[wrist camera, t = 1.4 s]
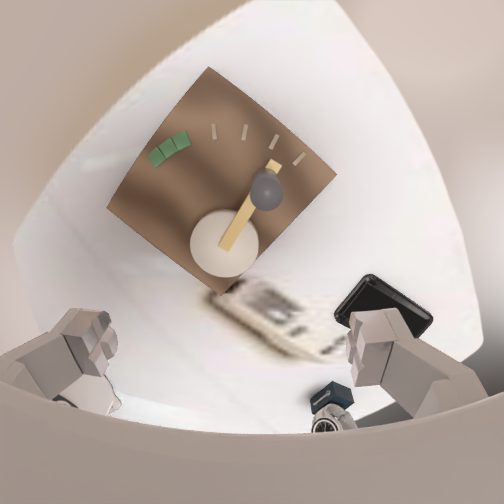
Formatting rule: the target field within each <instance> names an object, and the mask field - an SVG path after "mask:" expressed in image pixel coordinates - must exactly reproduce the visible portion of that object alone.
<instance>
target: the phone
mask: <svg viewBox="0 0 504 504" xmlns="http://www.w3.org/2000/svg"><path fill="white" fill-rule="evenodd" d="M389 308H397V309H398V310H399V312H400V314H401V316H402V317H403V319H404V321H405V323H406V325H407V326H408V328H409V330H410V332H411V334H412V335H413V337H414V339H416V338H419V337H420V336H421V335H422V334H423V333H424V331H425V330H426V329H427V328H428V327H429V326H430V325H431V324H432V322H433V316H432V315H431V314H430V313H429V312H428V311H426V310H425V309H423V308H422V307H421V306H419V305H418V304H416V303H415V302H413V301H412V300H410V299H409V298H408V297H406V296H405V295H403V294H402V293H400V292H399V291H397V290H396V289H394V288H393V287H391V286H390V285H388V284H387V283H385V282H384V281H382V280H381V279H379V278H378V277H376V276H375V275H373V274H368V275H366V276H364V277H363V278H362V279H361V280H360V282H359V283H358V284H357V285H356V287H355V288H354V289H353V290H352V291H351V293H350V294H349V295H348V296H347V297H346V299H345V300H344V301H343V302H342V303H341V305H340V306H339V307H338V308H337V309H336V311H335V313H334V316H335V319H336V321H337V322H338V323H340V324H342V325H344V326H346V327H348V328H350V329H351V327H350V324H349V320H350V315H351V312H361V311H374V310H381V309H389Z"/></svg>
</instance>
